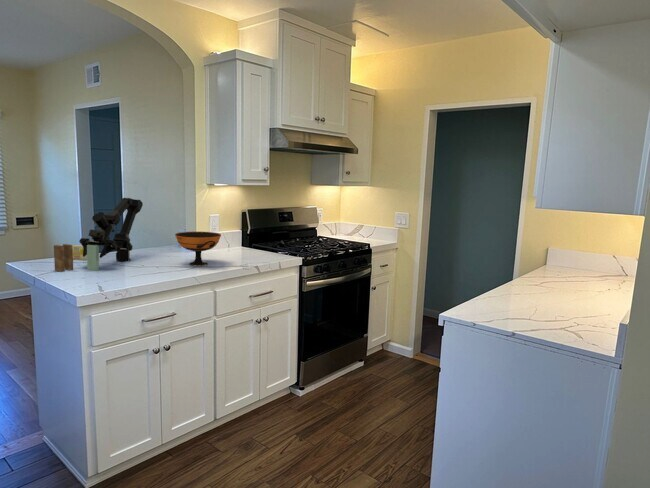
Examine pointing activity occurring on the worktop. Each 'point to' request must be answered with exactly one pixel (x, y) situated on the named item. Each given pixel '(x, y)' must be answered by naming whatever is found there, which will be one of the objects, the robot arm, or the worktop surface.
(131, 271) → the worktop surface
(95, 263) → the green domino
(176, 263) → the worktop surface
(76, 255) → the candy box
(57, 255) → the walnut domino end
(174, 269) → the worktop surface
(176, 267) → the worktop surface
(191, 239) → the cup
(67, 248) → the walnut domino middle
